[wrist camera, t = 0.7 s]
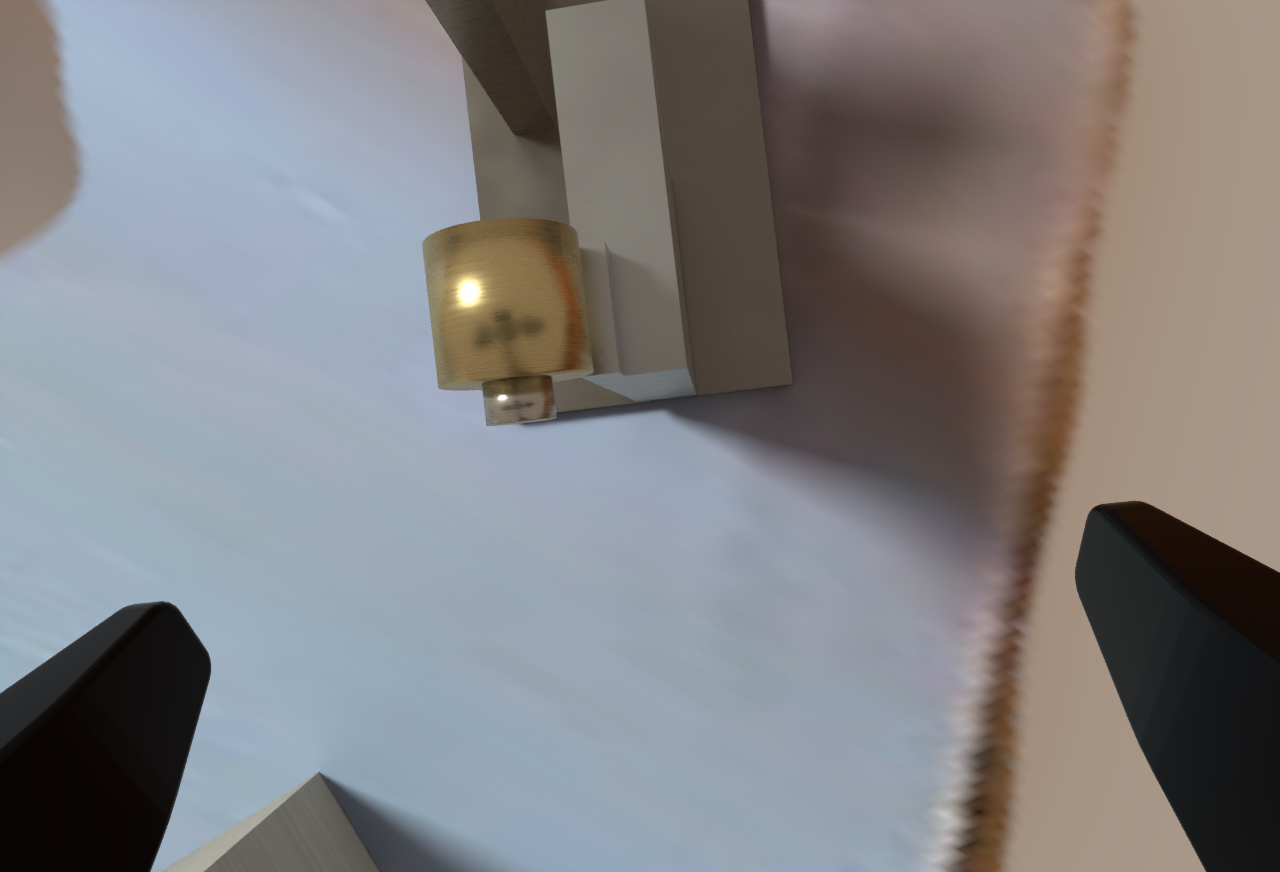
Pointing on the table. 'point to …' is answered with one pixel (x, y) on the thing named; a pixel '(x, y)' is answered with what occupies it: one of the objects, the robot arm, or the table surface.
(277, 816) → the tea bag
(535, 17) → the hinge base
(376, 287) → the table surface
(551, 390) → the brass-capped grey pillar
